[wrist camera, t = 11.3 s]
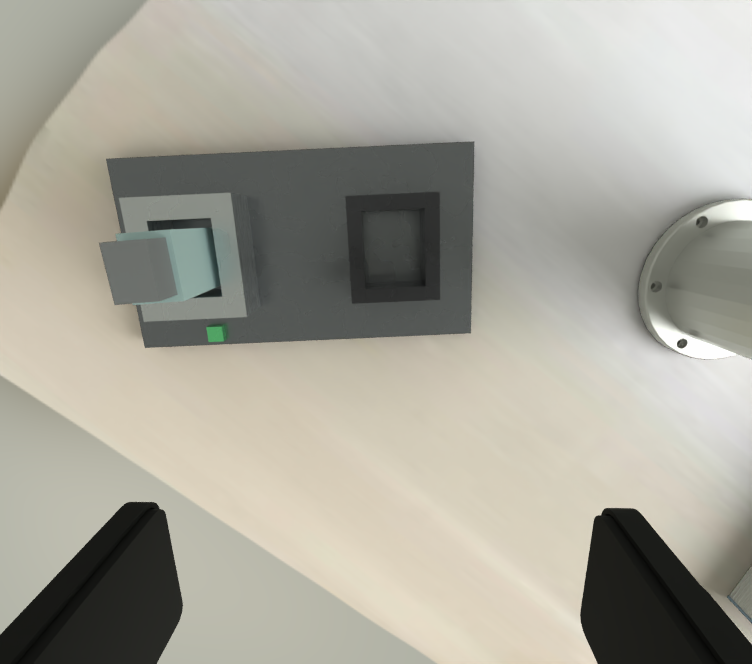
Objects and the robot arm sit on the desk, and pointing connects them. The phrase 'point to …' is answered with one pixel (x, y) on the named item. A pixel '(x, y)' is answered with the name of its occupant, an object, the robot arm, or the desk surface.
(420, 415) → the desk surface
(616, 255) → the desk surface
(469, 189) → the panel
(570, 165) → the desk surface
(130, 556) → the robot arm
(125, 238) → the plug
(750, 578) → the grey slotted box
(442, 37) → the desk surface
